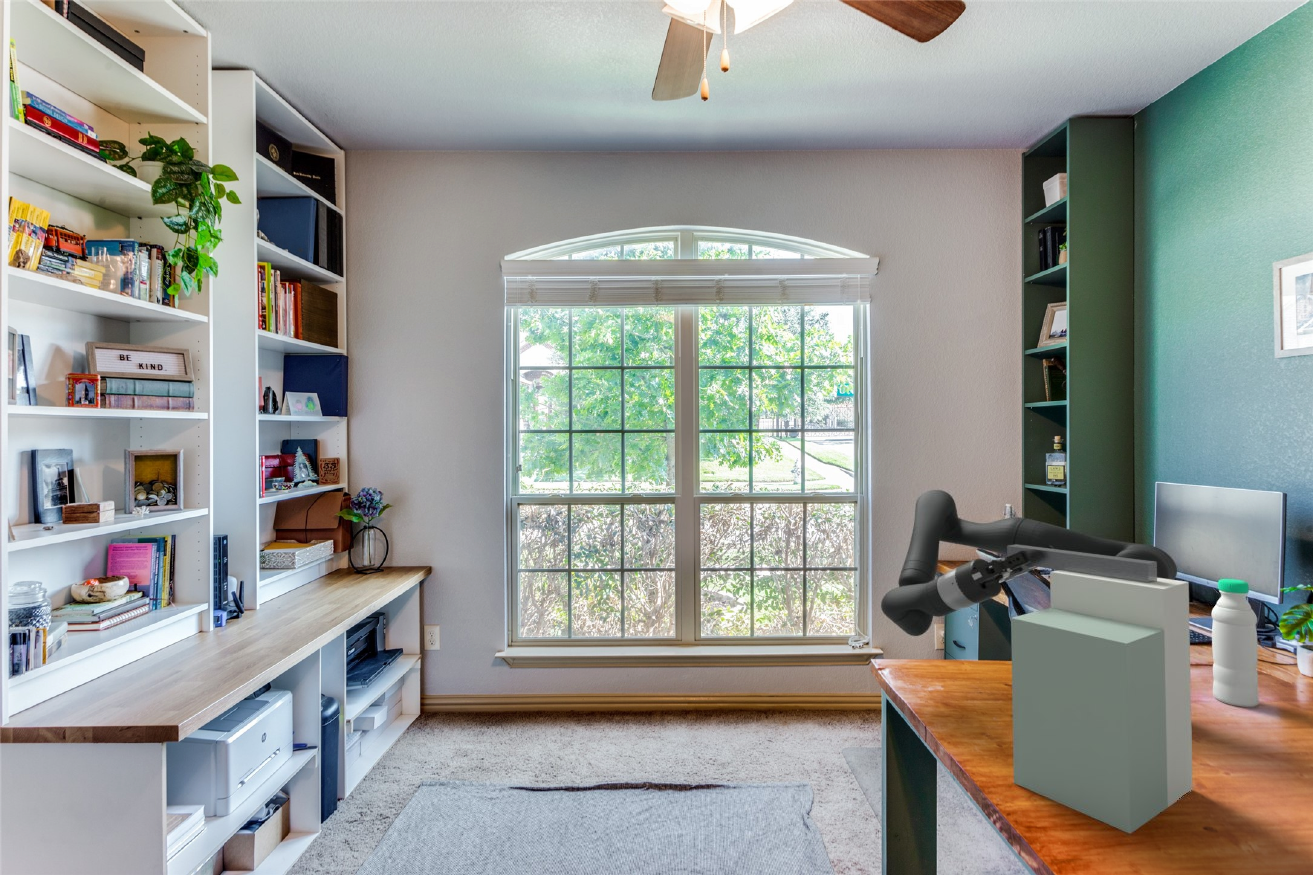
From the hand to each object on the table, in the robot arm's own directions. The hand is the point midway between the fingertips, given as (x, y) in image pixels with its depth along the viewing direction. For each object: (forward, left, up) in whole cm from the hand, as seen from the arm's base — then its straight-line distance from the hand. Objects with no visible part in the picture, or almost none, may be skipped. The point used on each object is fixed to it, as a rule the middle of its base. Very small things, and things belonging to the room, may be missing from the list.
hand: (1041, 552), depth 114 cm
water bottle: (-54, -9, -34) cm, 65 cm away
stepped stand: (+2, +13, -34) cm, 37 cm away
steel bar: (-2, +5, -2) cm, 6 cm away
